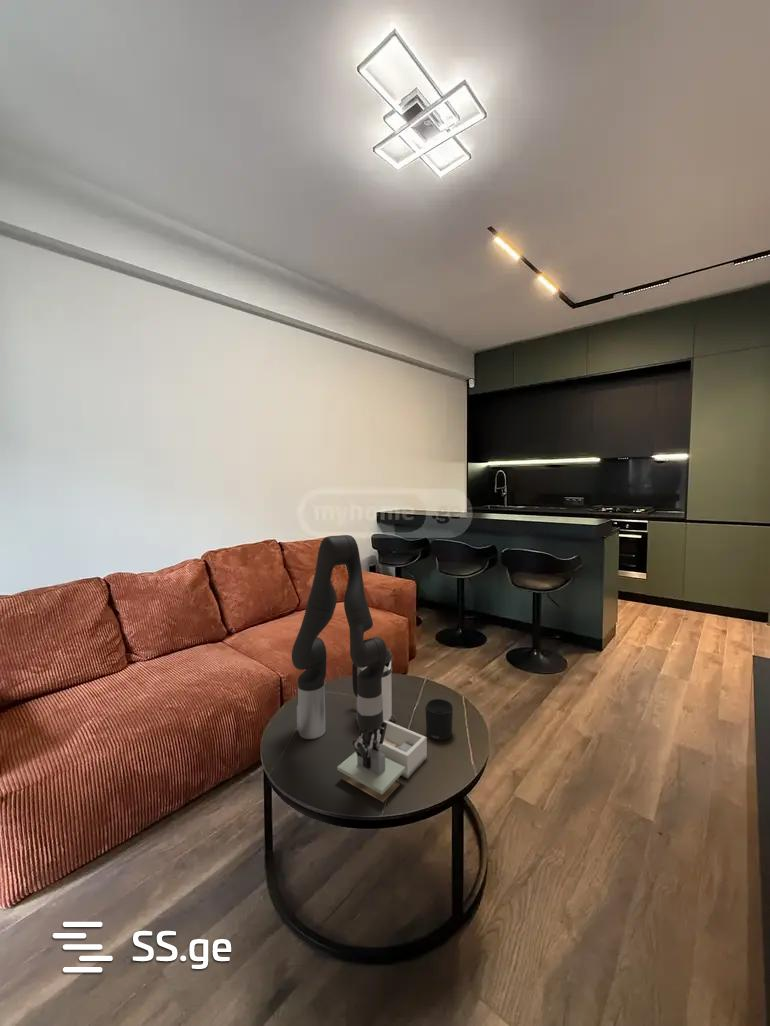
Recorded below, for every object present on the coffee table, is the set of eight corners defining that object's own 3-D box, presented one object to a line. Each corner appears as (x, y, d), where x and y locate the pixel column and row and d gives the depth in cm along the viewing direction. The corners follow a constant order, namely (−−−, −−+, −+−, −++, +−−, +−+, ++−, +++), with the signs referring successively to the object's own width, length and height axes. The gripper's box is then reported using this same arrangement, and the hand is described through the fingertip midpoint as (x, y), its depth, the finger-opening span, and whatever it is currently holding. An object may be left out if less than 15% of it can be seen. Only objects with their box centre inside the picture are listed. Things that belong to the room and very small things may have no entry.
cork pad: (342, 779, 121) (342, 777, 121) (359, 764, 127) (359, 762, 127) (383, 802, 112) (383, 800, 112) (399, 784, 119) (399, 783, 119)
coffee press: (397, 709, 158) (396, 633, 156) (394, 734, 142) (393, 650, 140) (353, 707, 160) (352, 632, 158) (345, 731, 144) (343, 649, 142)
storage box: (365, 757, 131) (365, 736, 130) (386, 739, 139) (385, 720, 139) (407, 778, 121) (407, 756, 121) (426, 758, 130) (426, 737, 129)
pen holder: (420, 730, 144) (420, 703, 144) (442, 722, 149) (442, 696, 148) (435, 745, 136) (435, 716, 135) (458, 737, 140) (458, 709, 140)
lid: (337, 773, 120) (336, 752, 119) (362, 752, 129) (361, 732, 129) (382, 798, 110) (381, 775, 110) (405, 774, 119) (405, 752, 119)
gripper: (374, 693, 126) (375, 746, 127) (343, 714, 115) (345, 772, 116) (394, 700, 122) (395, 756, 123) (364, 723, 110) (365, 783, 112)
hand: (370, 763), depth 119 cm, fingers closed on lid, 3 cm apart
